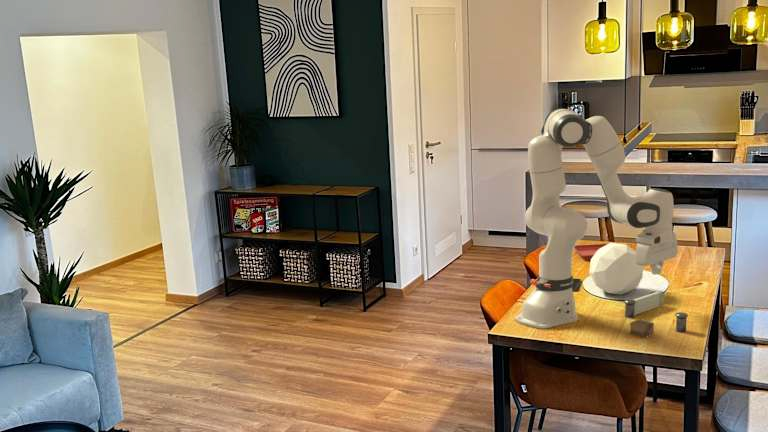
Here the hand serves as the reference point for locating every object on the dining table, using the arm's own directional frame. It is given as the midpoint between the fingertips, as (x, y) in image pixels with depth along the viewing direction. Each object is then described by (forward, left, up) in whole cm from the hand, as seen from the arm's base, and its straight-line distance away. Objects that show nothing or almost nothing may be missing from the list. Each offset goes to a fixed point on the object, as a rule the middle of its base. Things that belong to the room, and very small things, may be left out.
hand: (656, 273), depth 245 cm
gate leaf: (-3, +1, -13) cm, 13 cm away
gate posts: (-12, -8, -13) cm, 19 cm away
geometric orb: (+7, +21, -13) cm, 26 cm away
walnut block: (-23, -10, -13) cm, 29 cm away
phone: (+2, +39, -14) cm, 41 cm away
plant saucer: (+46, +59, -14) cm, 76 cm away
